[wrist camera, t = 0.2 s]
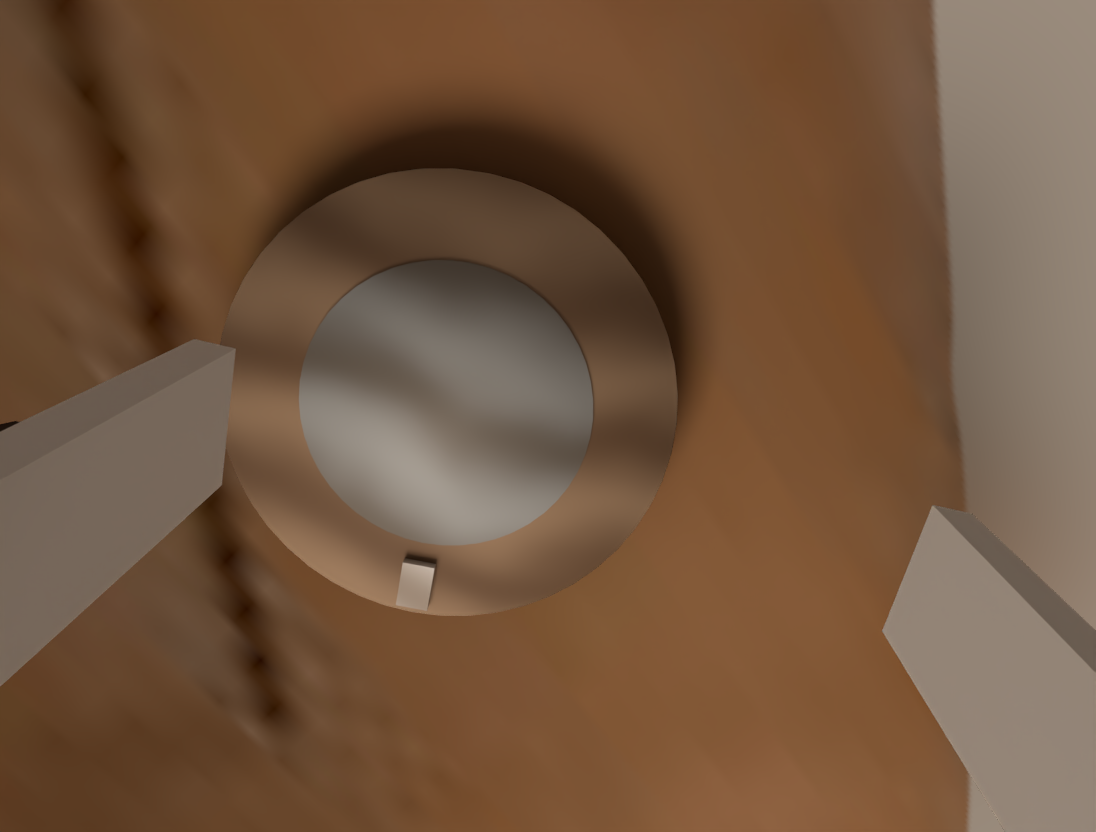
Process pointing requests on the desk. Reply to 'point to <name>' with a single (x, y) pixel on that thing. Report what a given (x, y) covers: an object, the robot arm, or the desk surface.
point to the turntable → (448, 391)
